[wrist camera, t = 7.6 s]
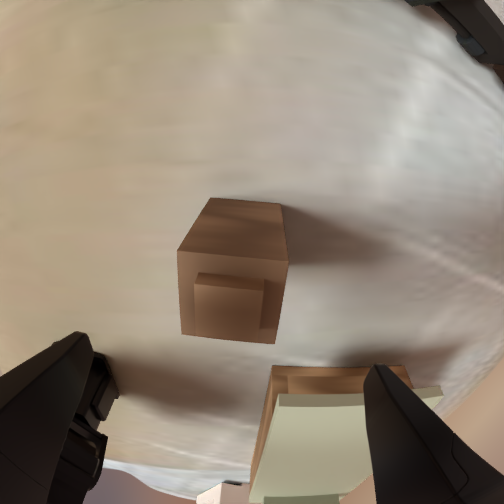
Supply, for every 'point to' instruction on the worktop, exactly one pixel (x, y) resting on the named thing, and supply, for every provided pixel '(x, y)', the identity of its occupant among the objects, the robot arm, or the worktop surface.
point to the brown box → (309, 392)
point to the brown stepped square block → (233, 271)
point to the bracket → (226, 494)
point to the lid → (317, 448)
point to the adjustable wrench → (473, 28)
